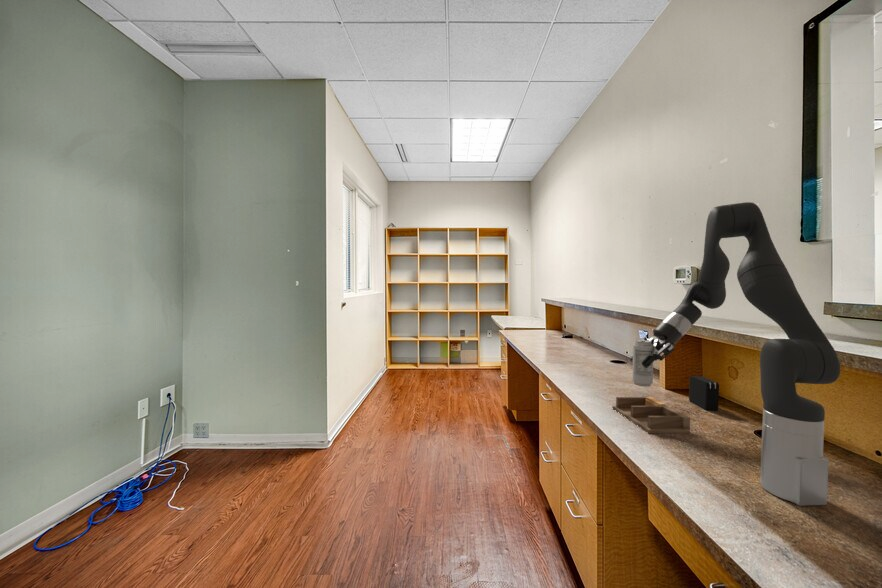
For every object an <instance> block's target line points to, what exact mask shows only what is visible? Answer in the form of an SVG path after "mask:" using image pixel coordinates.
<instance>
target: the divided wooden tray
mask: <svg viewBox="0 0 882 588" xmlns="http://www.w3.org/2000/svg"><path fill="white" fill-rule="evenodd" d="M615 399H616V401H615V405H612V408H613V409H614V410H613V409H612V408H611V409H612V410H613V411H615V410H616V411H617V412H616V411H615V412H616V413H618V412H619V413H620V414H619V413H618V414H619V415H621V414H622V415H623V416H622V415H621V416H622V417H624V416H625V417H626V418H625V417H624V418H625V419H627V420H628V419H629V420H628V421H630V422H631V421H632V422H631V423H633V424H634V423H635V424H634V425H636V426H637V425H638V426H637V427H639V428H640V427H641V428H642V429H641V428H640V429H641V430H643V431H644V430H645V431H644V432H646V433H647V432H648V434H665V433H666V434H670V433H671V434H672V433H673V434H674V433H675V434H676V433H683V434H684V433H690V432H691V417H690V416H687V415H686V414H684V413H682V412H680V411H678V410H676V409H673V408H672V407H670V406H668V405H666V403H664V402H661V401H660V400H657V399H655V397H651V396H648V395H643V396H616V398H615Z"/></svg>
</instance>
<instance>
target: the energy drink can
mask: <svg viewBox="0 0 882 588" xmlns="http://www.w3.org/2000/svg"><path fill="white" fill-rule="evenodd" d="M652 348H653V345H652V344H651V341H648V340H641V339H635V340H634V343H633V344H632V356H633V362H632V382H633V383H634V385H635V386H638V387H644V388H645V387H646V388H648V387H651V386H652V385H653V383H654V382H653V381H654V377H653V376H654V362H653V363H652V364H651V365H650V366H649V367H648V368H645V367H644V366H643V365H642V364H641V363H642V362H643V361H644V360H645V359H646V358H647V357H648V356H650V353H651V352H652Z"/></svg>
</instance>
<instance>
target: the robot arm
mask: <svg viewBox="0 0 882 588" xmlns="http://www.w3.org/2000/svg"><path fill="white" fill-rule="evenodd" d="M739 237H745V238H746V240H747V242H748V248H747V251H746V253H745V255H744V257H742V260H741V262H740V264H739V266H738V268H737V272H736V278H737V281H738V283H739V285H740V288H741V291H742V293H743V295H744V297H745V298H746V300H747V301H748V302H749V303H750V304H751V305H752V306H753V307H754V308H756V309H757V310H758V311H760V312H761V313H762V314H764V315H765V316H767V317H768V318H769V319H770V320H772V321H774V322H775V323H776V324H777V325H778V326H779V327H780V328H781V329H782V330H783V332H784V333H785V334H786V336H787V338H772V339H771V338H770V339H768V340H766V341H765V342H764V343H763V345H762V346H761V350H760V353H759V354H760V355H759V368H760V369H759V370H760V373H759V374H760V393H761V398H762V404H763V405H762V406H763V407H762V425H761V427H762V428H761V429H762V431H761V454H760V456H761V457H760V459H761V460H760V486H761V487H762V488H763V489H764V490H765V491H767V492H768V493H770V494H771V495H774V496H775V497H778V498H780V499H782V500H785V501H789V502H791V503H793V504H795V505H797V506H799V507H800V506H802V507H805V506H827V504H828V487H829V485H828V484H829V483H828V482H829V462H830V460H829V459H828V458H826V457H824V439H825V438H824V433H825V420H826V419H825V417H826V416H825V415H826V411H825V407H824V406H823V405H822V404H821V403H819V402H817V401H814V400H812V399H809V398H806V397H804V396H801V395H799V394H798V393H797V388H796V387H797V386H796V383H797V384H808V385H809V384H810V385H828V384H833V383H834V382H836V381H838V379H839V377H840V375H841V363H840V359H839V356H838V354H837V352H836V350H835V348H834V346H833V345H832V343H831V342H830V340H829V339H828V338H827V336H826V335H825V333H824V332H823V330H822V329H821V327H820V325H818V324H817V322H816V320H815V319H814V317H813V315H812V314H811V313H810V311H809V309H808V308H807V306H806V304H805V302H804V301H803V299H802V297H801V295H800V294H799V291H798V289H797V287H796V285H795V282H794V281H793V278H792V276H791V275H790V273H789V270H788V268H787V267H786V265H785V263H784V261H783V260H782V259H781V257H780V254H779V252H778V250H777V248H776V246H775V244H774V242H773V240H772V237H771V234H770V232H769V229H768V226H767V223H766V220H765V218H764V215H763V212H762V210H761V208H760V207H759V206H758V205H757V204H756V203H754V202H751V201H748V202H745V201H744V202H737V203H730V204H724V205H719V206H715V207H713V208H711V210H710V211H709V213H708V215H707V220H706V226H705V235H704V247H703V257H702V258H703V259H702V263H701V267H700V271H699V273H698V277H697V281H694V282H693V283H692V284H691V285H690V286H689V287H688V289H687V291H686V294H685V295H684V298H683V299H682V300H681V302H680V304H679V305H678V306H677V307H676V308H675V309H674V310H673V311H672V312H670V313H669V314H668V315H666V317H665V318H664V319H663V320H662V321H661V322H659V324H658V325H657V326H656V327H655V328H654V329H653V331H652V333H653V335H652V336H651V337H649V338H647V337H646V336H643V337H642V338H641V339H640V340H648V341H651V344H652V345H653V348H652V352H651V353H650V356H648V357H647V358H646V359H645V360H644V361H643V362H642V363H641V364H642V365H643V366H644V367H645V368H648V367H649V366H650V365H651V364H652V363H653V364H654V362H656V361H663V360H664V359H665V358H666V357H668V356H669V355H670V354H671V353H672V352H674V351H675V350H676V348H675V347H674V345H676V344H677V343H678V342H679V341H680V340H681V338H683V337H684V336H685V335H686V333H687V332H688V331H689V330H690V329H691V327H692V326H693V325H694V324H695V323H696V322H697V321H698V320H699V319H700V318H701V317H702V313H703V312H702V310H701V309H700V307H698V306H697V305H696V304H695V303H694V302H696V303H697V304H700V305H701V306H703V307H706V308H707V309H711V310H712V309H713V310H714V309H718V308H720V307H721V306H723V304H724V303H725V301H726V297H727V289H726V279H727V276H728V274H729V271H730V260H729V257H728V256H727V255H726V253H725V252H724V250H723V249H722V248H721V246H720V241H721V240H722V239H731V238H739ZM629 360H630V361H631V362H632V363H633V355H631V356H630V357H629Z"/></svg>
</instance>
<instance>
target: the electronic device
mask: <svg viewBox="0 0 882 588" xmlns="http://www.w3.org/2000/svg"><path fill="white" fill-rule="evenodd" d="M688 389H689V390H688V392H689V393H688V396H689V397H688V401H689V402H690V403H691V404H693V405H695V406H697V407H699V408H700V409H703V410H705V411H718V410H719V402H720V401H719V398H720V384H719V382H717V381H714V380H712V379H710V378H707V377H705V376H703V375H702V376H701V375H700V376H699V375H698V376H697V375H696V376H695V375H690V376H689V387H688Z"/></svg>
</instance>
